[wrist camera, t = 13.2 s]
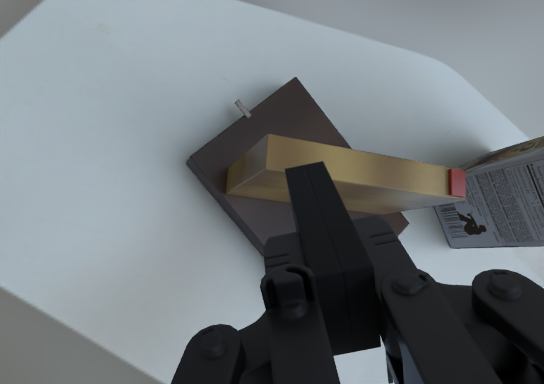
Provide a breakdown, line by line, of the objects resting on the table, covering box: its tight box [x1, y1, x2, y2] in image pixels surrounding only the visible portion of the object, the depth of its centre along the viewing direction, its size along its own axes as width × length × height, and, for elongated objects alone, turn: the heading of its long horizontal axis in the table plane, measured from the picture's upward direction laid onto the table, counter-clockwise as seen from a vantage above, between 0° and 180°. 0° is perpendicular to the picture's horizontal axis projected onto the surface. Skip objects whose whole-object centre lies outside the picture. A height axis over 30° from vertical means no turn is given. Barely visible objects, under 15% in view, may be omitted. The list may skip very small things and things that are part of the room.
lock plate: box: [186, 77, 409, 257], centre depth 30 cm, size 16×10×2 cm, turn 42°
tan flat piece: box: [226, 134, 466, 215], centre depth 25 cm, size 12×2×8 cm, turn 86°
